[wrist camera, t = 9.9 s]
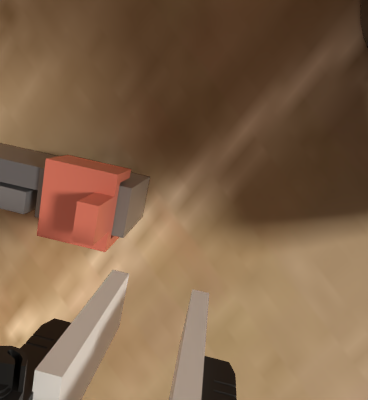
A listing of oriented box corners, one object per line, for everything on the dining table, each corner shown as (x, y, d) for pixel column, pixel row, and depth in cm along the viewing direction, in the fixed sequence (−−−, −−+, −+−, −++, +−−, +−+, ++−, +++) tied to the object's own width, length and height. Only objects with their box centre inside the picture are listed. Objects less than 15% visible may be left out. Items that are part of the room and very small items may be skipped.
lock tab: (131, 169, 30) (102, 181, 23) (119, 237, 32) (89, 268, 25) (67, 154, 31) (20, 162, 24) (59, 222, 32) (11, 249, 25)
